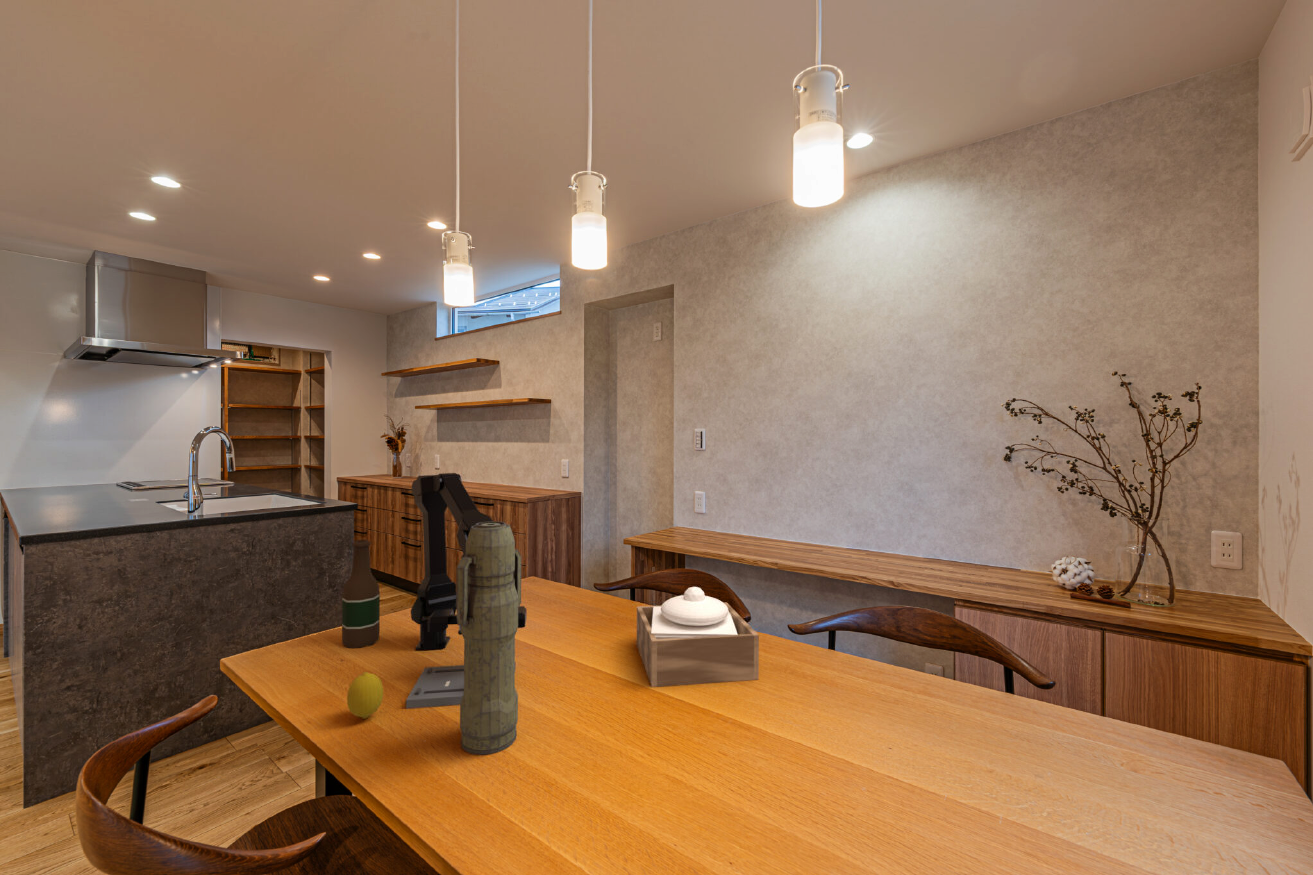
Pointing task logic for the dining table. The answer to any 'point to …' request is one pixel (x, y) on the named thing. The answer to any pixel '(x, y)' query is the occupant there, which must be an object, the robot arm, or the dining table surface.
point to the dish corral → (697, 654)
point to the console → (438, 687)
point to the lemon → (365, 695)
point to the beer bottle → (360, 601)
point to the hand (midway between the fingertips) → (478, 660)
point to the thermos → (489, 637)
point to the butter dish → (692, 617)
